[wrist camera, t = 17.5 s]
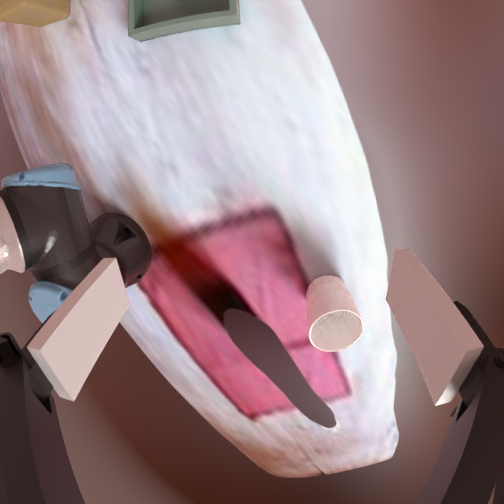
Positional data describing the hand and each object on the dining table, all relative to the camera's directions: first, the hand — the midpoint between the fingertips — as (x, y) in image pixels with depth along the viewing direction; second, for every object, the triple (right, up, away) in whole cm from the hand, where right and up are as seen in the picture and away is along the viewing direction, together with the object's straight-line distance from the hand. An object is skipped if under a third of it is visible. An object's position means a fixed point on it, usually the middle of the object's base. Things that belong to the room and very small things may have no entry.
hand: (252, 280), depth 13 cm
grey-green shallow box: (-11, +45, +19) cm, 50 cm away
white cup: (+15, -7, +44) cm, 46 cm away
